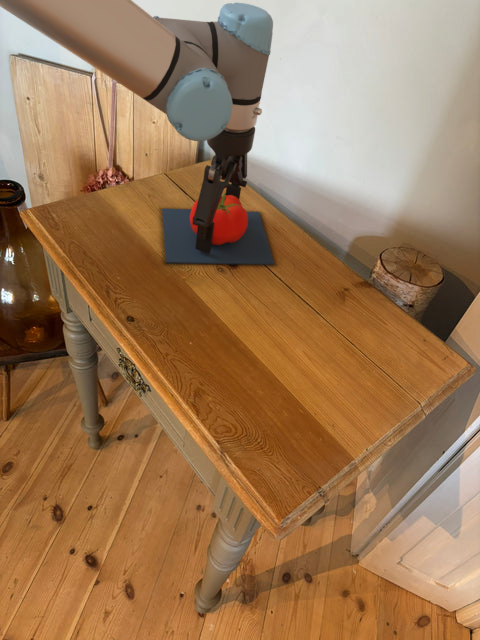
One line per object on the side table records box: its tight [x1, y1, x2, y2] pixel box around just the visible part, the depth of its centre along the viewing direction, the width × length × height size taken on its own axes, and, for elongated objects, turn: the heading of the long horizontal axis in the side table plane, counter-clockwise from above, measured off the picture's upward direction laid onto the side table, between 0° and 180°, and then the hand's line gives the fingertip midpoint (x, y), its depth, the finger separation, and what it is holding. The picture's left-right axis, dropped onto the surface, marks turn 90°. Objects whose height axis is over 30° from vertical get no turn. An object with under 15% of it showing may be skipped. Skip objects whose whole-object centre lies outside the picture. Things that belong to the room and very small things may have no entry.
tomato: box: [190, 192, 248, 245], centre depth 86 cm, size 11×11×8 cm
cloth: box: [161, 207, 275, 266], centre depth 89 cm, size 20×16×1 cm
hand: (216, 231), depth 88 cm, fingers open, 12 cm apart
